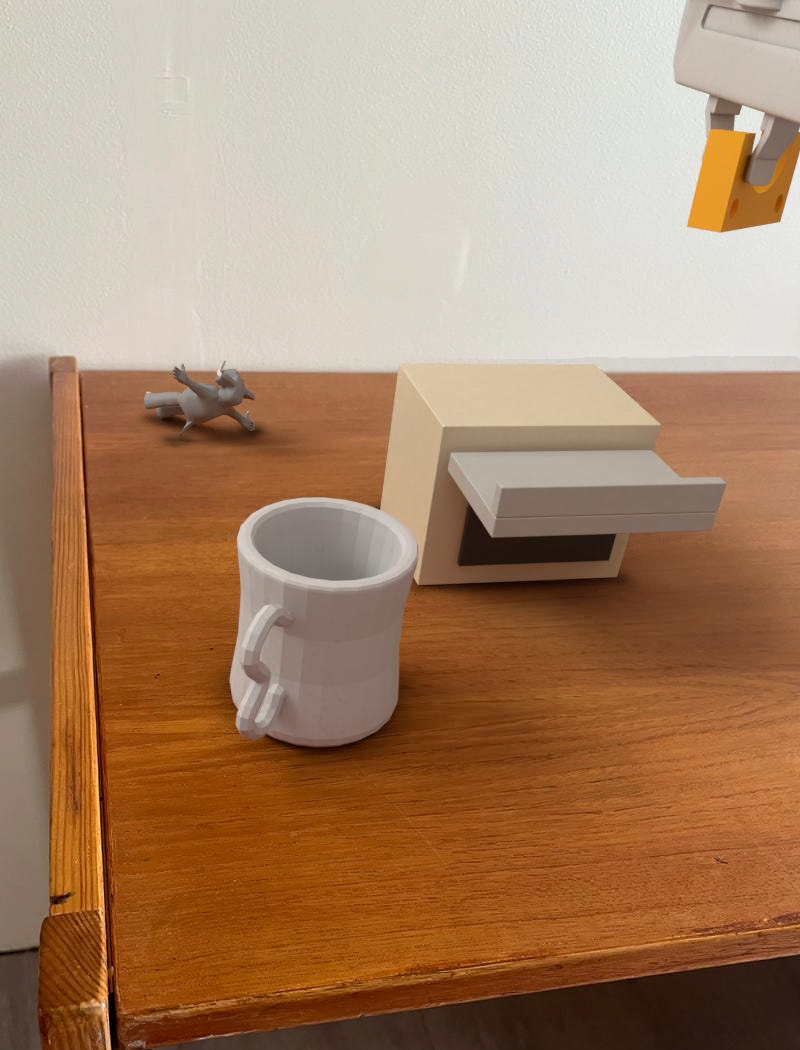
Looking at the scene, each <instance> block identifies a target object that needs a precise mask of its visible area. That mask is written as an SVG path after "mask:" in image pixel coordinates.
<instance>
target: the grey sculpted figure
mask: <svg viewBox="0 0 800 1050" xmlns="http://www.w3.org/2000/svg"><path fill="white" fill-rule="evenodd" d="M226 362H227V361H226V360H223V361H222V363H221V364H220V366H219V367H218V368H217V371H216V377H215V378H214V379H213V381H214V382H215V383H216V384H217V386H219V387H220V386H221V387H220V388H219V387H217V386H216V385H210V384H209V383H206V382H200V381H199V382H196V381H194V380H192V379H191V378H189V377H188V375H187V373H186V367H185V363H181V364H180V368H179V367H178V366H177V365H174V366H173V368H172V371H173V372H172V375H173V379H175V380H176V381H177V382H178V383H180V384H182V385H184V386H186V388H185V389H184V390H183V392H179V391H164V392H157V393H156V392H151V391H146V393H145V395H144V398H143V405H144V408H145V409H146V410H154V409H156V410H155V411H156V415H157V418H159V419H165V418H171V417H175V416H185V417H186V423H185V425H184V427H183V428H182V430H181V431H180V432H179V433H178V434H177V436H176V440H178V439H180V437H182V436H183V435H184V434H185V433H186V432H187V431H188V430H189V429H190V428H191V427H192V426H193V425H203V424H205V423H207V422H210V421H212V420H215V419H216V418H219V417H222V416H228V417H230V418H231V419H233V420H235V421H237V423H238V424H239V425H240V426H241V427H242V428H243V429H244V430H247V431H249V432H252V431H254V430H255V428H256V425H255V424H256V422H255V421H252V420H251V419H250V418H249V415H250V411H248V410H247V411H246V413H244V414H243V415H242V414H241V413H240V412H239V411H238V410H237V409H236V408H235V407H237V406H239V405H240V404H242V403H243V400H244V399H245V400H250V401H255V399H256V397H255V394H254V393H253V392H252V391H250V390H249V389H248V388H246V385H245V380H244V379H243V378H242V377H241V375H240V373H239V371H238V370H237V368H227V369H224V367H225V365H226Z"/></svg>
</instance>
